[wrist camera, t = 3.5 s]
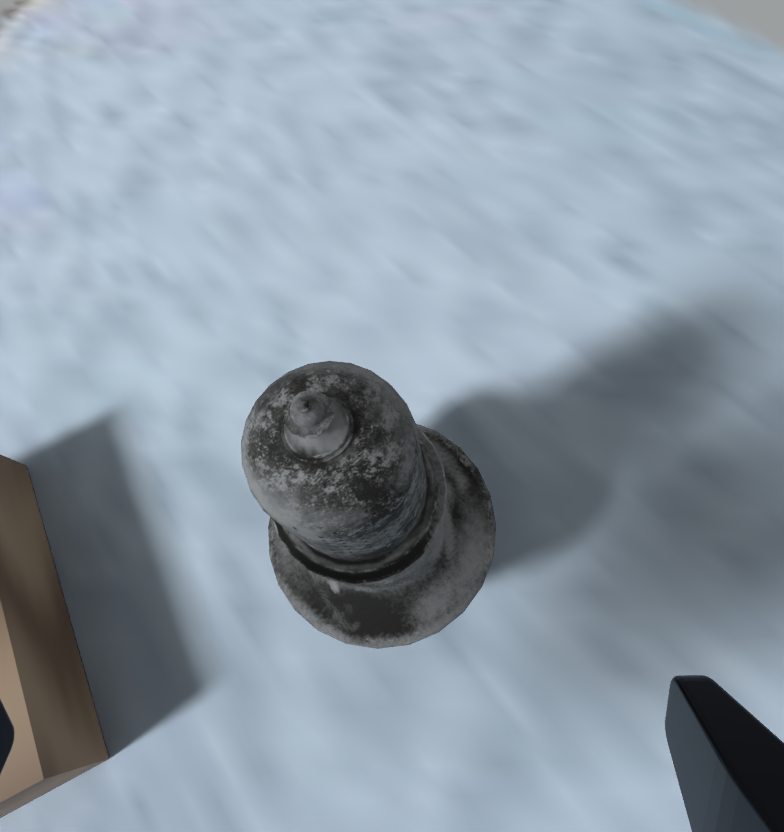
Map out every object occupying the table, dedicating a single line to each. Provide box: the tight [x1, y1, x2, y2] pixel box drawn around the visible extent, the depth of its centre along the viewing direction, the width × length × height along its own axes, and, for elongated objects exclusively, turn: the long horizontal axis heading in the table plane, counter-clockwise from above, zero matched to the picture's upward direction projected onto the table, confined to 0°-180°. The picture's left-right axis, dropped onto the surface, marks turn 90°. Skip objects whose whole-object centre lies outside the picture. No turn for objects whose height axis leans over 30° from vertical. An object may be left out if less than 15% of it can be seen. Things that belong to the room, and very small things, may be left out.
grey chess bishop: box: [241, 361, 496, 649], centre depth 13 cm, size 6×6×12 cm
